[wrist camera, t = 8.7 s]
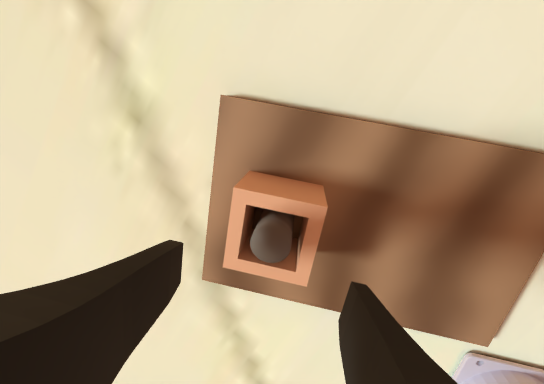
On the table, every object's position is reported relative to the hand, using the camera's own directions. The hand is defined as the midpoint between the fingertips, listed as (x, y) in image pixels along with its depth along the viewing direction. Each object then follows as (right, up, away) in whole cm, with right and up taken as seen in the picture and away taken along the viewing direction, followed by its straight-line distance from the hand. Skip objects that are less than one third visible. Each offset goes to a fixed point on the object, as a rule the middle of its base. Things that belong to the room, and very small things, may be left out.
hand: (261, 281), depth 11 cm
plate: (+7, +1, +8) cm, 10 cm away
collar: (+1, +2, +7) cm, 8 cm away
